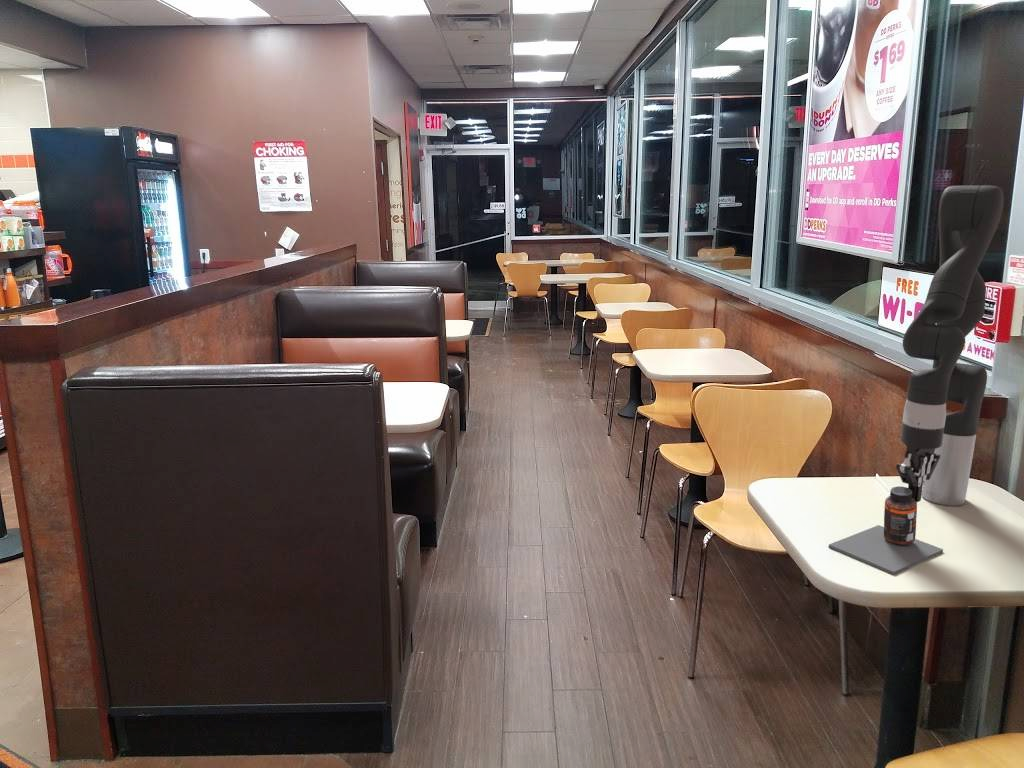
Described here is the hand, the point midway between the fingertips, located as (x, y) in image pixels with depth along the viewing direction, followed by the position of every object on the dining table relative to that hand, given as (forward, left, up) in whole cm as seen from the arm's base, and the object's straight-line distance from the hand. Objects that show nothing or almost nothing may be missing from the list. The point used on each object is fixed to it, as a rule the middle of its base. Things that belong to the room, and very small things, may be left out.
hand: (913, 500), depth 159 cm
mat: (+8, 0, -9) cm, 12 cm away
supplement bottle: (+3, 0, -8) cm, 9 cm away
